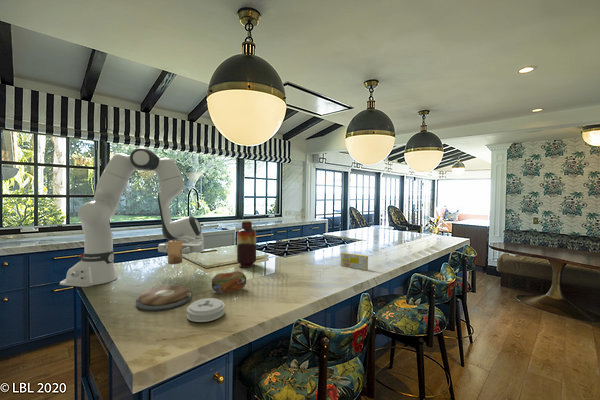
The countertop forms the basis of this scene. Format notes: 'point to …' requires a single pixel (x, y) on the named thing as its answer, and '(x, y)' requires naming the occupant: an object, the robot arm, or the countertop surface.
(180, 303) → the turntable base
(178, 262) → the canister
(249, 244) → the brown bottle
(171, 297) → the turntable
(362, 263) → the candy box
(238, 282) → the tin
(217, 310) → the lid
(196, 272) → the countertop surface
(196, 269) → the countertop surface
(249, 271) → the countertop surface
